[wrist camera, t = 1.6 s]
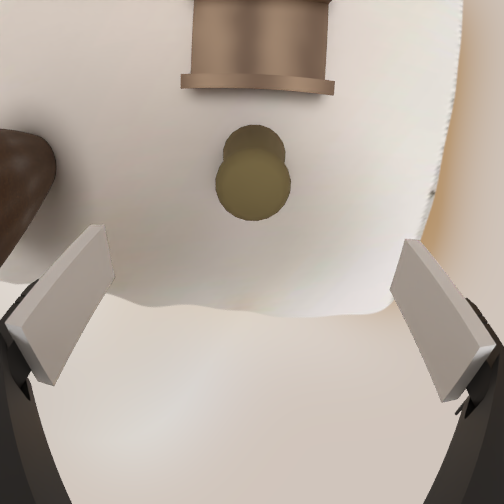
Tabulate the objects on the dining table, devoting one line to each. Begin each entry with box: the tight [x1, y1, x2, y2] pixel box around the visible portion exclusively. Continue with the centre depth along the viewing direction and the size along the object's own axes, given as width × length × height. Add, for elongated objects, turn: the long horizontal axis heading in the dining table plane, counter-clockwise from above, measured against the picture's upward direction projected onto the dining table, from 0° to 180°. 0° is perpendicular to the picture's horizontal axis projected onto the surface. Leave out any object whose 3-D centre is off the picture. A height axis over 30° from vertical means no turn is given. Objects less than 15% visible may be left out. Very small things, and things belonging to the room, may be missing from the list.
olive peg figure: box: [216, 125, 291, 221], centre depth 25 cm, size 6×6×11 cm
